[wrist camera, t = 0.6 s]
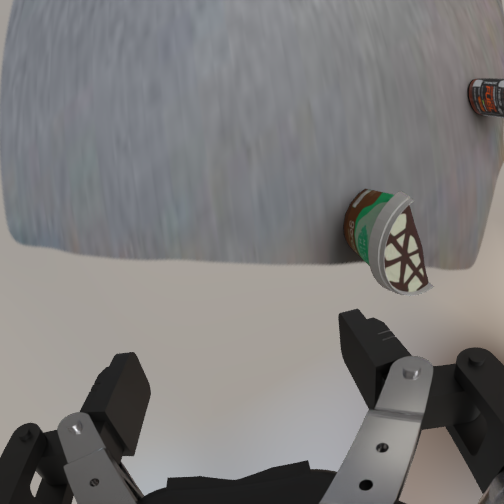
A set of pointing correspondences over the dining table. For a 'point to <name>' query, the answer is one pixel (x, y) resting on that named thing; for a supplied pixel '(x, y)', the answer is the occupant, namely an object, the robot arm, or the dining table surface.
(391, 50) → the dining table surface
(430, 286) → the food container
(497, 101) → the supplement bottle
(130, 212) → the dining table surface
